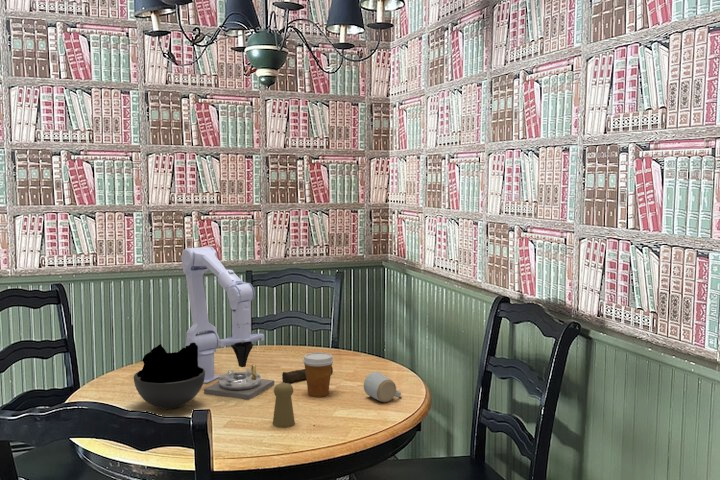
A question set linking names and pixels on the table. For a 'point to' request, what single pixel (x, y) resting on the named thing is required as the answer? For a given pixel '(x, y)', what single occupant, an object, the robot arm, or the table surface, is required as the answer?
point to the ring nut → (240, 379)
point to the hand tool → (295, 375)
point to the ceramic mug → (380, 387)
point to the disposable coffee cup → (318, 373)
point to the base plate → (240, 394)
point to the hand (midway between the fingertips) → (242, 366)
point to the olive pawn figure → (283, 406)
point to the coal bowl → (170, 377)
